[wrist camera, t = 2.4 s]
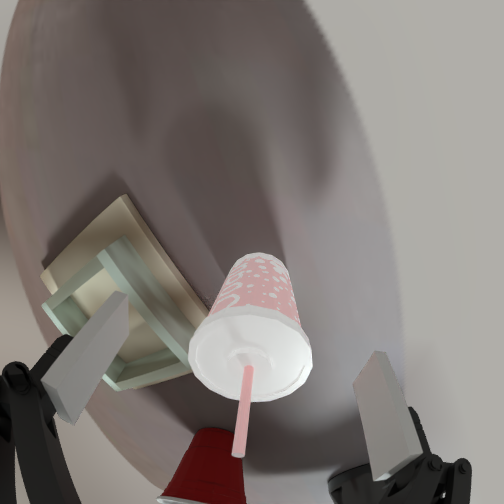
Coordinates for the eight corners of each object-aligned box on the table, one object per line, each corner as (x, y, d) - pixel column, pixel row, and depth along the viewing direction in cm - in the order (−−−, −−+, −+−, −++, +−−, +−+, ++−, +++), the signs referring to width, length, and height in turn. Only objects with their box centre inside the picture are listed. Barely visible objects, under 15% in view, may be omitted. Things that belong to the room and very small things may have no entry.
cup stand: (239, 348, 24) (233, 381, 20) (137, 383, 27) (125, 408, 23) (126, 193, 19) (97, 205, 15) (45, 272, 23) (21, 289, 19)
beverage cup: (284, 230, 19) (298, 394, 6) (309, 301, 21) (336, 469, 8) (205, 258, 21) (122, 413, 8) (237, 322, 23) (205, 482, 10)
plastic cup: (174, 442, 32) (154, 508, 21) (182, 407, 28) (155, 493, 17) (245, 460, 32) (237, 527, 21) (270, 429, 28) (265, 515, 17)
